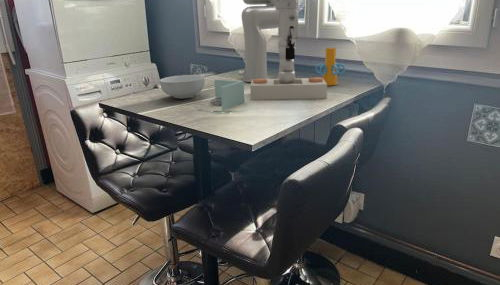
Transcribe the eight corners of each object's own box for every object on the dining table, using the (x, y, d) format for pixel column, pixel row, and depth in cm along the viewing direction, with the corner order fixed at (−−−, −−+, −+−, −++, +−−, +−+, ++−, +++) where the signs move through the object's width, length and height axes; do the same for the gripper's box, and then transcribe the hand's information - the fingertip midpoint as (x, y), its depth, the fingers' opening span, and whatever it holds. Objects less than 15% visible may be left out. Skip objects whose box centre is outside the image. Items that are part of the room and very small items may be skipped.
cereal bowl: (188, 90, 161) (187, 73, 158) (214, 95, 149) (213, 76, 147) (152, 97, 149) (150, 78, 147) (177, 103, 138) (176, 83, 136)
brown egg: (309, 94, 142) (309, 79, 140) (307, 92, 147) (308, 77, 145) (323, 94, 141) (323, 79, 140) (321, 91, 146) (322, 77, 145)
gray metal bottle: (287, 81, 148) (287, 27, 142) (299, 84, 143) (300, 27, 136) (274, 83, 145) (273, 28, 138) (285, 86, 140) (286, 28, 133)
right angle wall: (217, 99, 142) (215, 79, 139) (244, 102, 136) (243, 81, 133) (195, 106, 132) (194, 84, 130) (224, 110, 126) (223, 87, 124)
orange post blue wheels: (345, 82, 165) (347, 46, 161) (343, 87, 156) (344, 49, 151) (317, 82, 169) (317, 46, 165) (312, 86, 160) (313, 49, 155)
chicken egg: (253, 95, 143) (252, 81, 141) (253, 93, 148) (253, 78, 146) (267, 95, 143) (266, 80, 141) (267, 92, 148) (267, 78, 146)
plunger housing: (250, 99, 139) (250, 85, 137) (252, 92, 152) (252, 79, 151) (326, 98, 137) (327, 84, 136) (321, 90, 151) (322, 77, 149)
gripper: (306, 5, 128) (304, 60, 134) (290, 5, 144) (289, 55, 150) (284, 6, 126) (284, 61, 132) (270, 6, 142) (271, 56, 148)
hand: (287, 57), depth 141 cm, fingers closed on gray metal bottle, 6 cm apart
